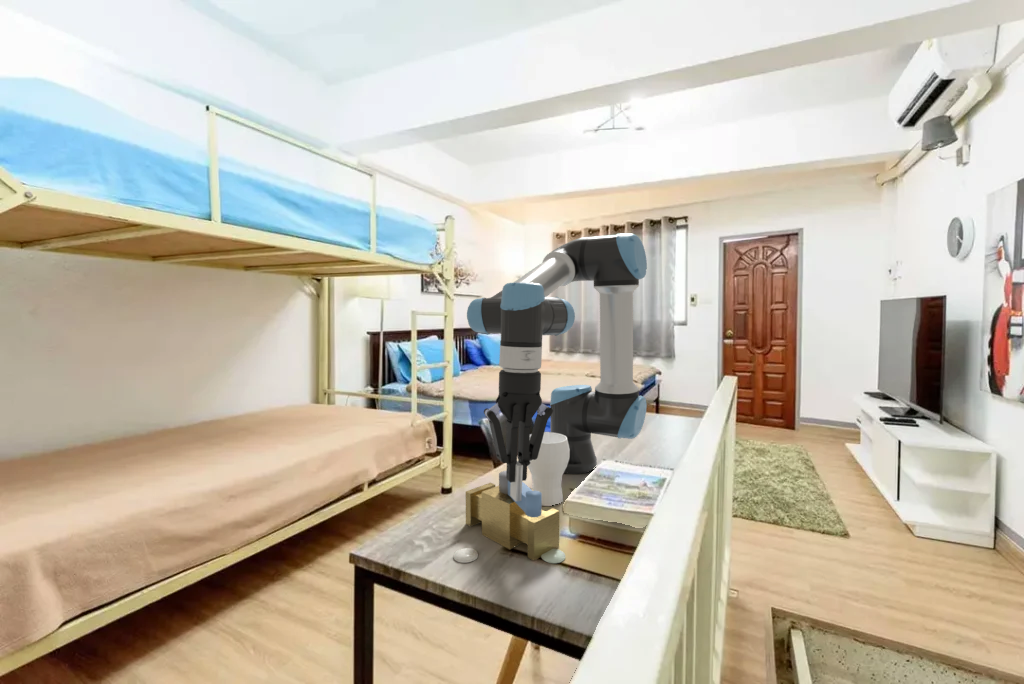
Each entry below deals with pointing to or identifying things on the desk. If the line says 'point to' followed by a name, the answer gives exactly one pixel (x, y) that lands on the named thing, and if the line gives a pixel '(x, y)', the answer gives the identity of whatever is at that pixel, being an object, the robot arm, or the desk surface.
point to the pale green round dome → (553, 556)
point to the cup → (550, 467)
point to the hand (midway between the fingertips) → (515, 498)
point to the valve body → (511, 521)
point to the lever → (523, 496)
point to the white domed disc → (465, 555)
